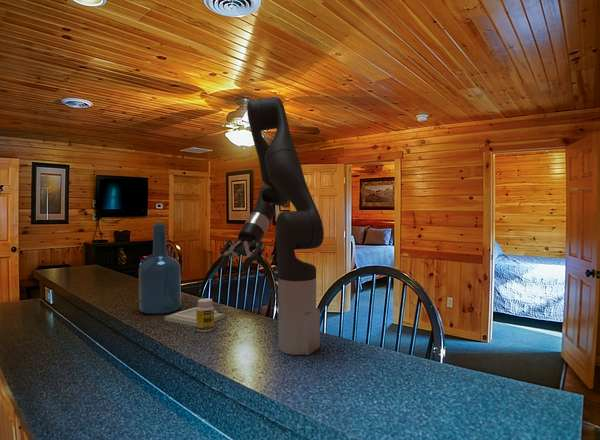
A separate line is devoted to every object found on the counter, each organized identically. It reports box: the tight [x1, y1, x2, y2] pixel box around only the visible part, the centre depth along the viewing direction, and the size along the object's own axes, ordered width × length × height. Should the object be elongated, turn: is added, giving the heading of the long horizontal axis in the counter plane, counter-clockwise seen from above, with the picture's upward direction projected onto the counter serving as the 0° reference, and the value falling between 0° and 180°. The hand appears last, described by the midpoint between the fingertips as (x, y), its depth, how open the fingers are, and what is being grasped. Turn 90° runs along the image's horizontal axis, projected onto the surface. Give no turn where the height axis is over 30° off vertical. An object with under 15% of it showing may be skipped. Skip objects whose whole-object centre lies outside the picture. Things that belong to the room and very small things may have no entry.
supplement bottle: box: [196, 297, 215, 333], centre depth 108 cm, size 5×5×8 cm
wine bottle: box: [138, 220, 182, 315], centre depth 129 cm, size 14×13×30 cm
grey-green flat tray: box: [164, 306, 225, 328], centre depth 119 cm, size 14×11×2 cm
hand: (232, 268), depth 118 cm, fingers open, 8 cm apart
